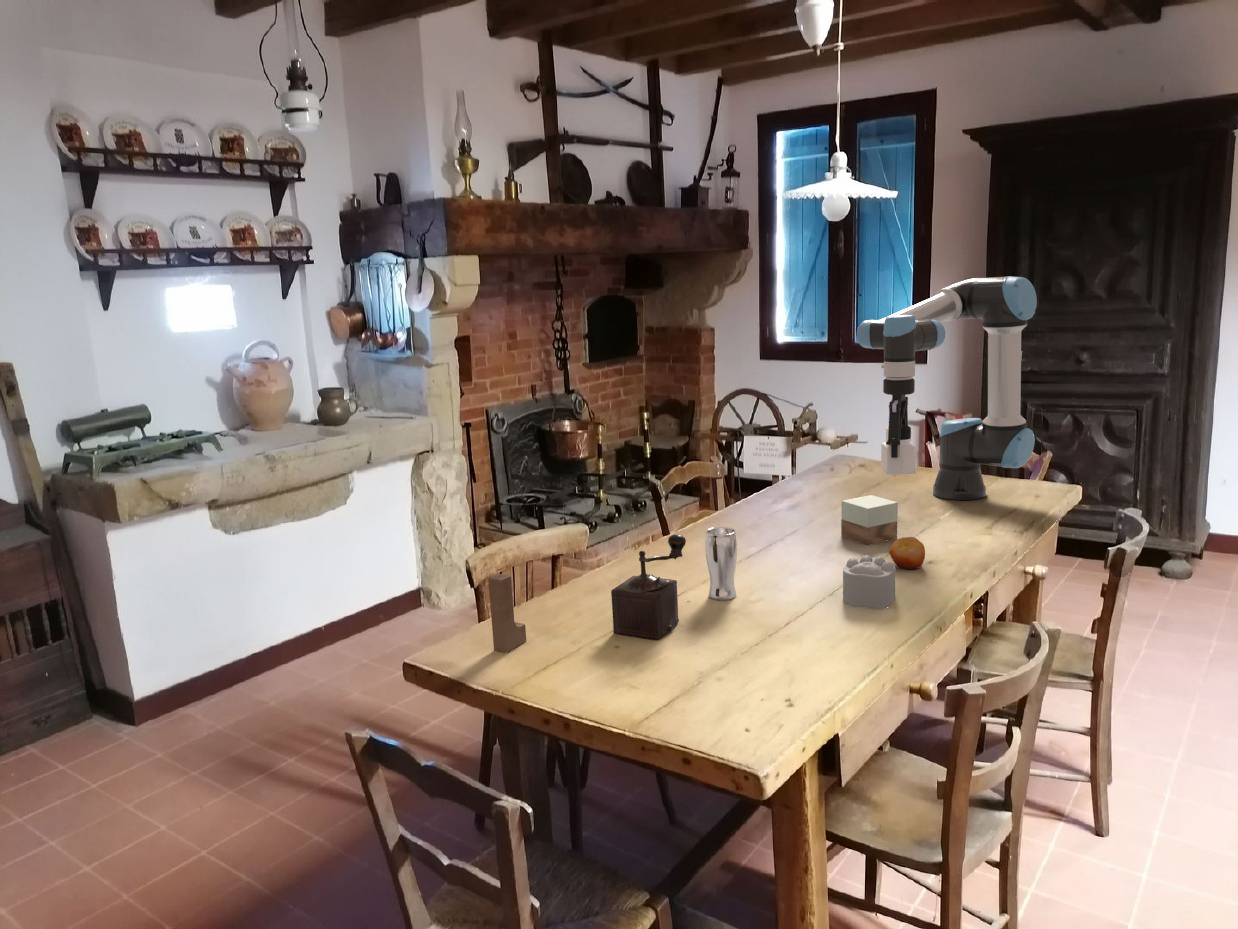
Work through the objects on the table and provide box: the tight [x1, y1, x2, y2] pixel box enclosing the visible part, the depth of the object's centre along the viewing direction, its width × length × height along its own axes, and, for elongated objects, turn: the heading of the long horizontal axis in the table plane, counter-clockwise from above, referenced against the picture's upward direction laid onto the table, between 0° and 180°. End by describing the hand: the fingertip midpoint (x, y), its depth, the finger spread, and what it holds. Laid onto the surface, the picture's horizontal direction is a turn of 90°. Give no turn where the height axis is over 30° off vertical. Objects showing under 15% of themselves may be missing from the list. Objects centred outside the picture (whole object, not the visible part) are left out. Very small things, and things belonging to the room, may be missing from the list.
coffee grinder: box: [610, 534, 687, 641], centre depth 188 cm, size 16×11×18 cm
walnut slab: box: [840, 518, 898, 546], centre depth 241 cm, size 10×10×5 cm
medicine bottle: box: [880, 424, 917, 476], centre depth 233 cm, size 7×7×12 cm
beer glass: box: [704, 526, 738, 601], centre depth 203 cm, size 7×7×15 cm
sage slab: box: [841, 494, 899, 528], centre depth 240 cm, size 10×10×5 cm
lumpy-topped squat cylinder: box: [842, 554, 896, 610], centre depth 198 cm, size 10×13×9 cm
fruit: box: [888, 536, 926, 570], centre depth 217 cm, size 8×8×8 cm
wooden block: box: [487, 573, 527, 654], centre depth 181 cm, size 7×3×15 cm, turn 149°
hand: (897, 465), depth 234 cm, fingers closed on medicine bottle, 9 cm apart
